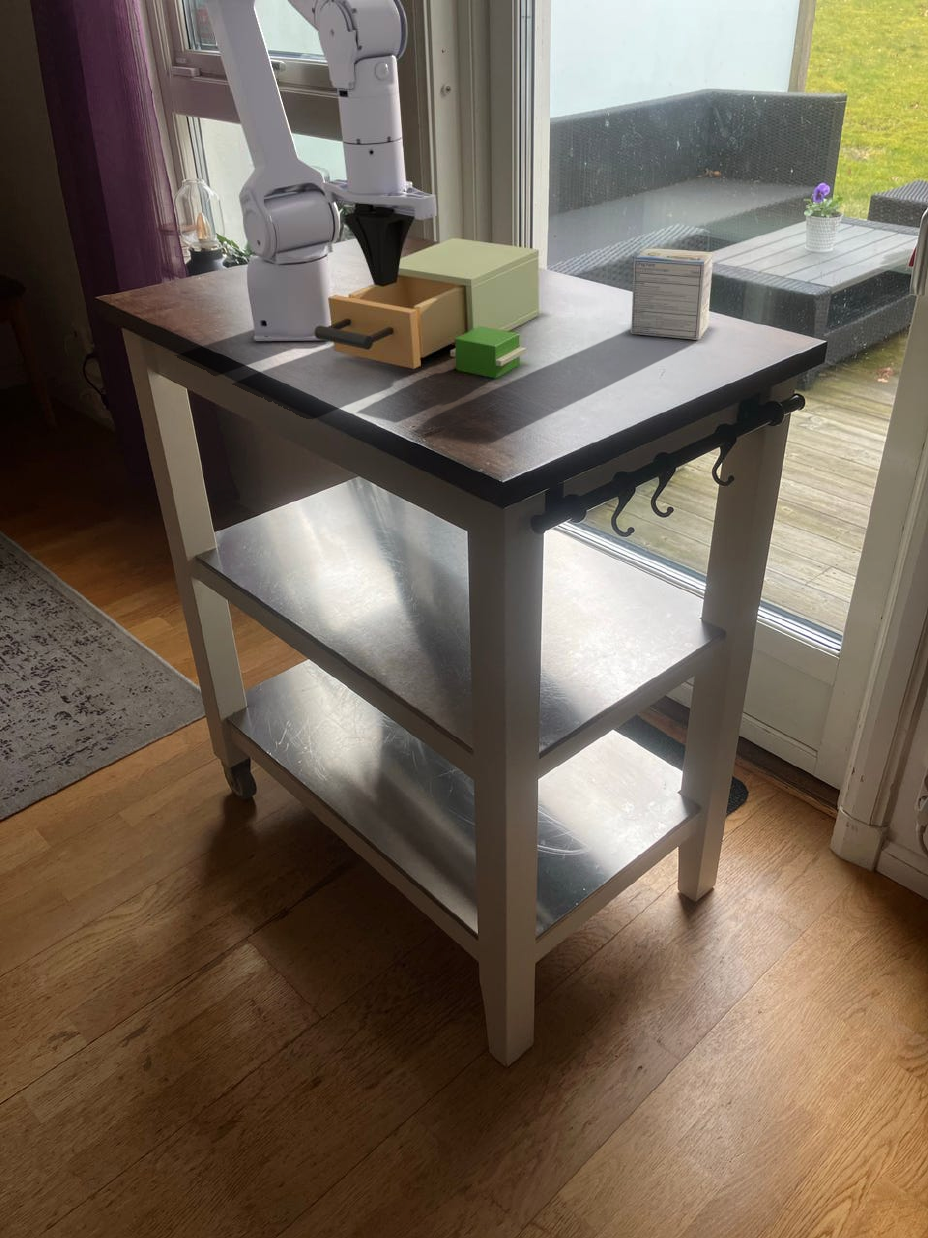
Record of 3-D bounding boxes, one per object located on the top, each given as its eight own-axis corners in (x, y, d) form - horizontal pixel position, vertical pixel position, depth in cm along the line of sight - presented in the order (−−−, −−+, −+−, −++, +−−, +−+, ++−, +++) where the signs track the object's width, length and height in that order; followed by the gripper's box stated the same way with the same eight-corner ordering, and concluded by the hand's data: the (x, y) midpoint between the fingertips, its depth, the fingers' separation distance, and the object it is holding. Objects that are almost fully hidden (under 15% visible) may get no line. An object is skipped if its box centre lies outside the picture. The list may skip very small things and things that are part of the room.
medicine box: (708, 329, 115) (715, 251, 111) (698, 341, 112) (705, 262, 107) (641, 322, 118) (645, 246, 113) (629, 335, 115) (633, 257, 110)
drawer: (384, 384, 104) (378, 326, 100) (304, 365, 110) (296, 310, 106) (482, 334, 115) (479, 281, 112) (404, 319, 121) (400, 268, 118)
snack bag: (525, 366, 109) (525, 334, 107) (501, 380, 106) (500, 347, 104) (475, 355, 112) (474, 324, 110) (451, 369, 109) (449, 337, 107)
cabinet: (474, 349, 114) (470, 279, 109) (388, 332, 120) (382, 265, 116) (539, 315, 123) (538, 249, 118) (456, 300, 129) (452, 237, 125)
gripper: (455, 138, 94) (463, 285, 102) (355, 127, 103) (369, 263, 111) (400, 151, 90) (411, 303, 98) (300, 138, 99) (318, 278, 106)
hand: (385, 283), depth 104 cm, fingers closed
